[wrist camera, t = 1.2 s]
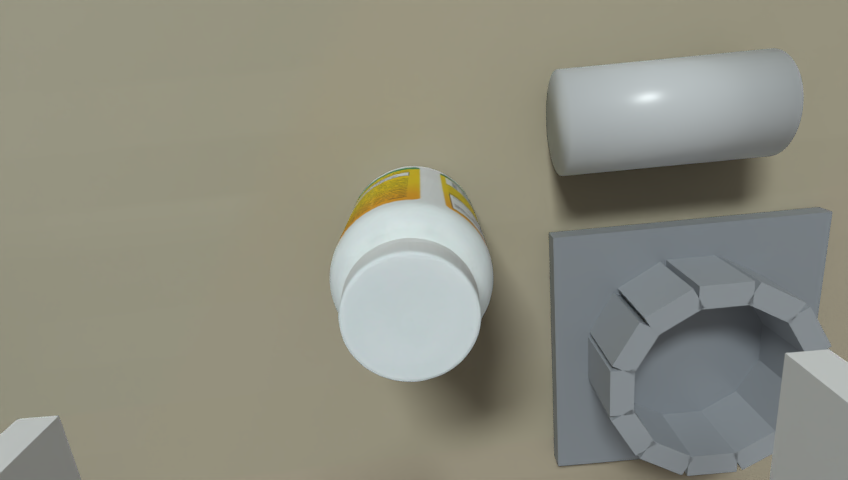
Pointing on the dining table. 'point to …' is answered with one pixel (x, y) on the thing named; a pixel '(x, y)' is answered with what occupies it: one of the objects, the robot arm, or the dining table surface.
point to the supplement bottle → (411, 275)
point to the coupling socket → (681, 336)
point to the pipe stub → (672, 111)
